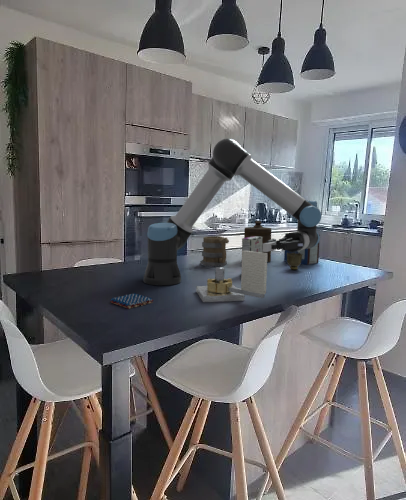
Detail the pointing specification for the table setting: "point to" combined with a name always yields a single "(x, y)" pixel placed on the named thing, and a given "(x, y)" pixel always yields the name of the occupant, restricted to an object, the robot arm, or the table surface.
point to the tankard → (214, 251)
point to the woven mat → (131, 300)
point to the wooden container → (259, 235)
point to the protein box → (307, 255)
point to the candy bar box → (252, 244)
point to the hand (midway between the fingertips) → (264, 247)
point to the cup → (294, 260)
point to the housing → (216, 297)
